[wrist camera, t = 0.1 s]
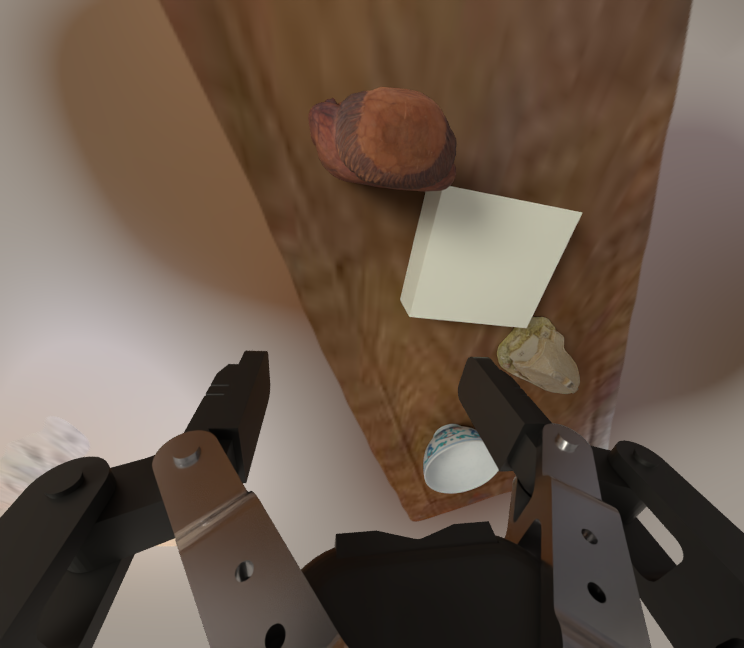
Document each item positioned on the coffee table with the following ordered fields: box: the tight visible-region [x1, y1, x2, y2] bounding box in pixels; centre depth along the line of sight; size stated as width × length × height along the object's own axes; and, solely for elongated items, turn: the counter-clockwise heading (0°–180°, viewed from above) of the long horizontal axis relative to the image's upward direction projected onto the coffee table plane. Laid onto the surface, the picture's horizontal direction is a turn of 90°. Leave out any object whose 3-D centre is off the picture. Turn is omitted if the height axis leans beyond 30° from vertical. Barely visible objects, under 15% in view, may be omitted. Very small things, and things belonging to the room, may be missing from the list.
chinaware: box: [423, 424, 499, 493], centre depth 55 cm, size 15×15×8 cm
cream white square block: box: [400, 186, 582, 328], centre depth 38 cm, size 16×18×6 cm
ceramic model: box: [497, 317, 580, 394], centre depth 46 cm, size 14×11×10 cm
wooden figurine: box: [308, 87, 456, 191], centre depth 25 cm, size 12×6×18 cm, turn 83°
